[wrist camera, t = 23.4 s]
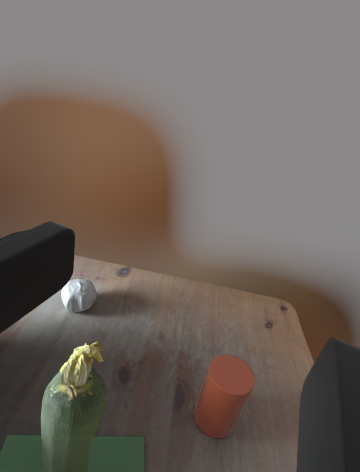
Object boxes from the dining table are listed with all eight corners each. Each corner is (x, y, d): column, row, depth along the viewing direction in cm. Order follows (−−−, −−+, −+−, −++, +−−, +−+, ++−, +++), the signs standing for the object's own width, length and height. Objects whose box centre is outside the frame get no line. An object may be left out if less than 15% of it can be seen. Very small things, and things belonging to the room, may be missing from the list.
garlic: (89, 322, 47) (91, 295, 45) (53, 315, 47) (54, 288, 45) (100, 297, 53) (103, 272, 50) (68, 291, 53) (70, 265, 50)
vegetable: (30, 498, 27) (24, 334, 18) (71, 457, 31) (82, 301, 22) (63, 539, 26) (74, 380, 16) (102, 490, 29) (129, 336, 20)
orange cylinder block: (241, 414, 39) (261, 372, 35) (223, 449, 35) (243, 404, 31) (206, 389, 41) (222, 347, 38) (185, 418, 37) (200, 374, 34)
